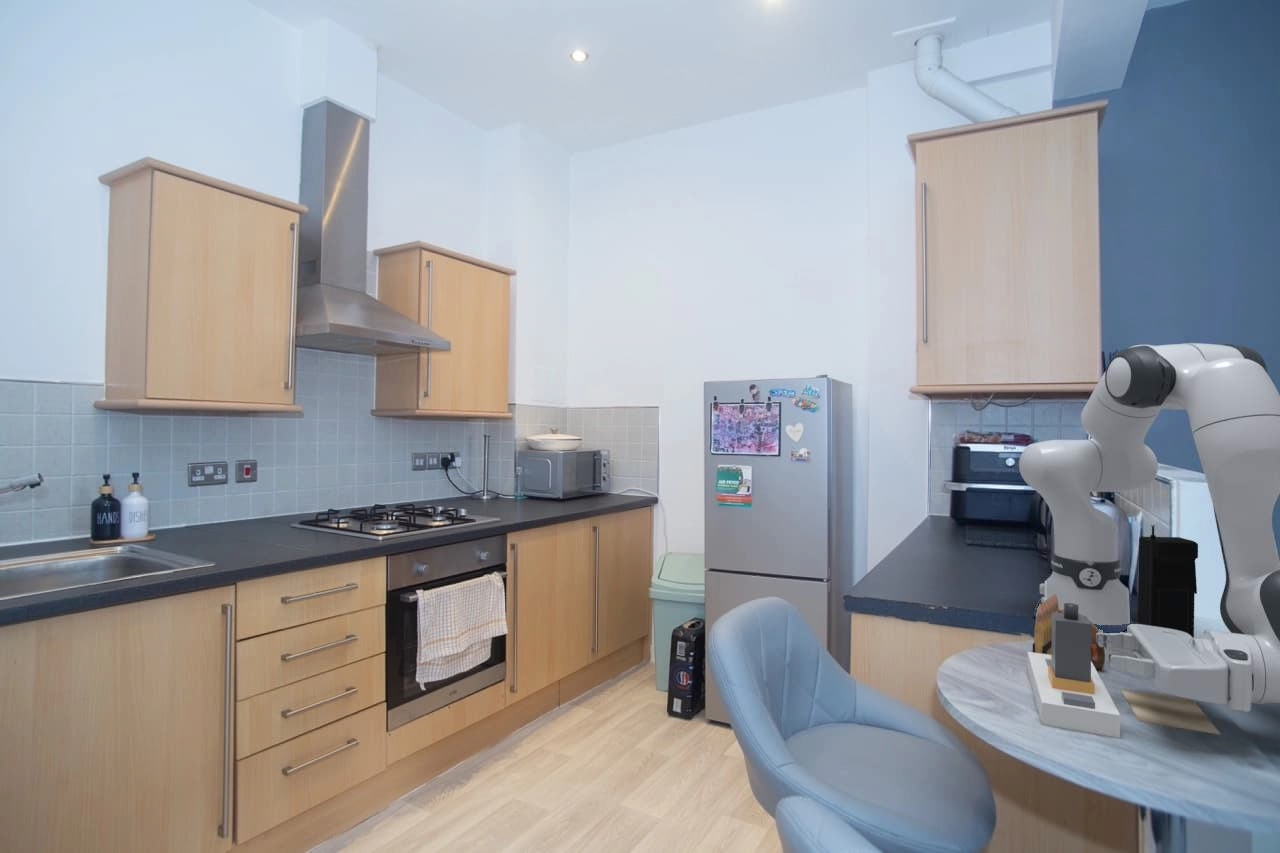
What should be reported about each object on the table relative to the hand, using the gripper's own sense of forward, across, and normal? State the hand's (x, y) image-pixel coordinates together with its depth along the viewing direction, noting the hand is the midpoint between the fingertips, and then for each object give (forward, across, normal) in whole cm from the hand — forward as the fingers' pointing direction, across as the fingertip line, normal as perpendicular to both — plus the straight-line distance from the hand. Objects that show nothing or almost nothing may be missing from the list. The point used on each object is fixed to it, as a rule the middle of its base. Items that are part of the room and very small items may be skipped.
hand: (1102, 649), depth 96 cm
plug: (+4, 0, +9) cm, 10 cm away
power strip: (+4, -2, +10) cm, 11 cm away
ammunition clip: (+5, -19, +10) cm, 22 cm away
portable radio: (-14, -28, +10) cm, 33 cm away
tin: (0, -24, +10) cm, 26 cm away
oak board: (-8, -4, +10) cm, 14 cm away
